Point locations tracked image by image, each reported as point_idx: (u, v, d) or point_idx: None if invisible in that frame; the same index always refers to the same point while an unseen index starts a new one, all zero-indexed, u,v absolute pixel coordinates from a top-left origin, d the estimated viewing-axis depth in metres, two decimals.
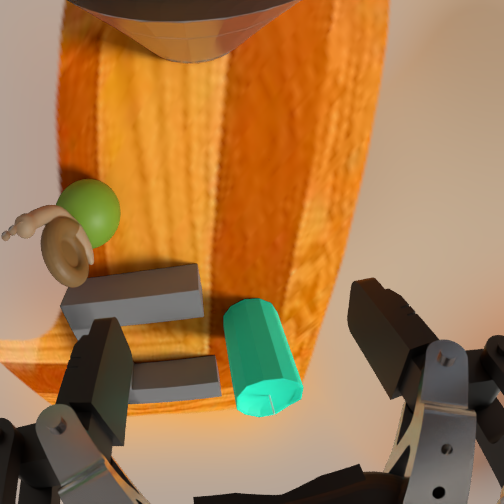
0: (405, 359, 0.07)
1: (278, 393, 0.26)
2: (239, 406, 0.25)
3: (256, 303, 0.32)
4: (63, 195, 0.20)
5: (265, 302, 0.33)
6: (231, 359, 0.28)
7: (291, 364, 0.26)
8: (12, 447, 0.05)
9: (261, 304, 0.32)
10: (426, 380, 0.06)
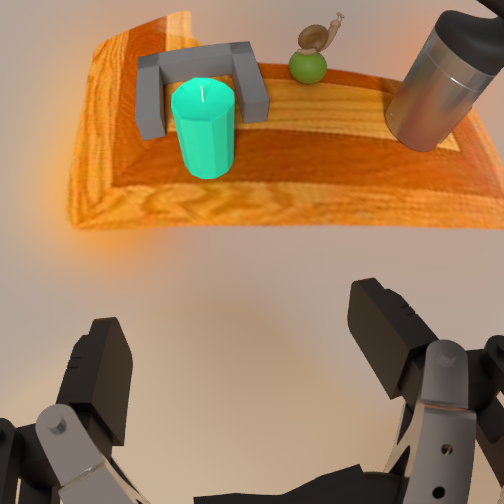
0: (405, 359, 0.07)
1: (203, 107, 0.27)
2: (199, 78, 0.27)
3: (233, 155, 0.36)
4: None
5: (230, 164, 0.36)
6: None
7: (226, 126, 0.28)
8: (12, 447, 0.05)
9: (233, 157, 0.35)
10: (426, 380, 0.06)
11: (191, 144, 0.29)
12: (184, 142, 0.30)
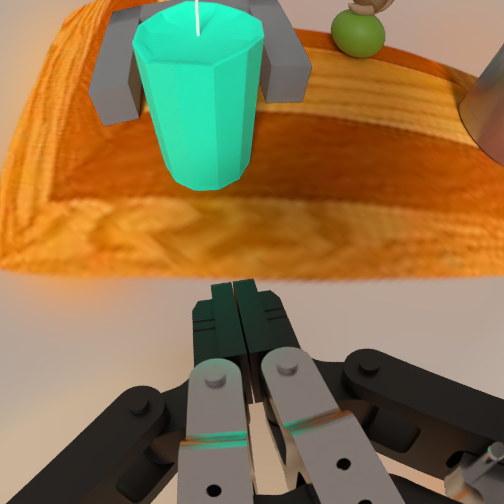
0: (250, 363, 0.08)
1: (198, 44, 0.11)
2: (194, 2, 0.12)
3: None
4: None
5: (245, 167, 0.21)
6: None
7: (245, 84, 0.13)
8: (162, 415, 0.06)
9: (250, 154, 0.20)
10: (278, 401, 0.06)
11: (171, 122, 0.14)
12: (158, 119, 0.14)
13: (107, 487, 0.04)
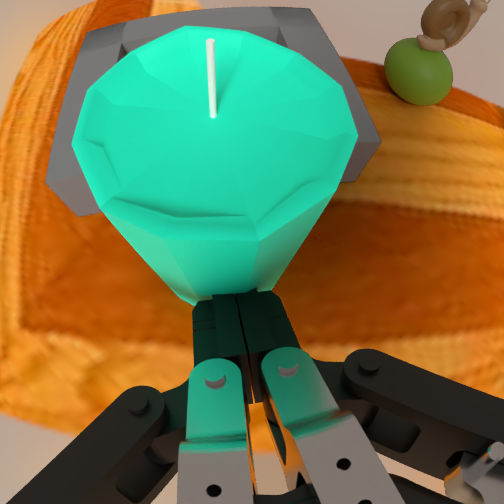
0: (250, 363, 0.08)
1: (214, 144, 0.06)
2: (201, 30, 0.06)
3: None
4: None
5: None
6: None
7: None
8: (162, 415, 0.06)
9: None
10: (278, 401, 0.06)
11: (169, 275, 0.09)
12: (147, 261, 0.09)
13: (107, 487, 0.04)
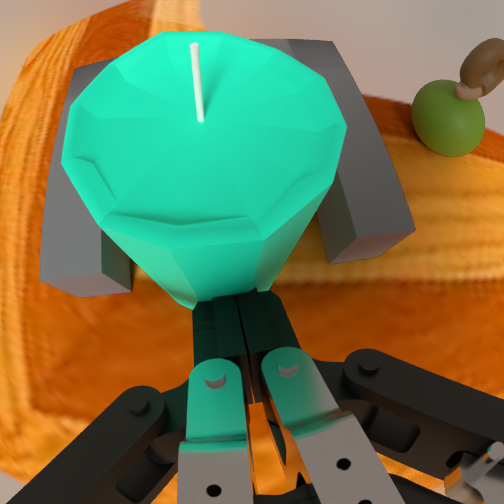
0: (250, 363, 0.08)
1: (205, 149, 0.06)
2: (178, 35, 0.06)
3: None
4: None
5: None
6: None
7: (306, 223, 0.07)
8: (162, 415, 0.06)
9: None
10: (277, 401, 0.06)
11: (171, 283, 0.09)
12: (147, 272, 0.09)
13: (107, 487, 0.04)
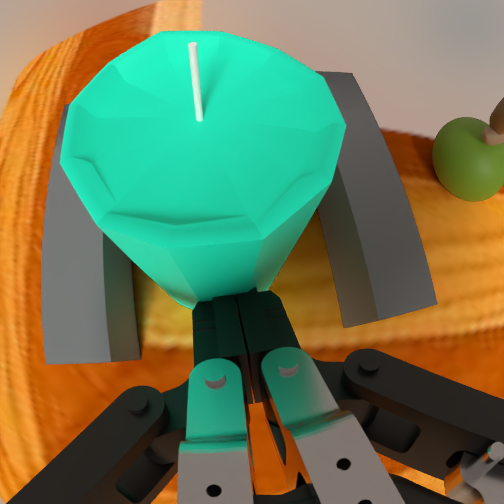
0: (250, 363, 0.08)
1: (204, 148, 0.06)
2: (177, 34, 0.06)
3: None
4: None
5: None
6: None
7: (305, 223, 0.07)
8: (162, 415, 0.06)
9: None
10: (278, 401, 0.06)
11: (170, 283, 0.09)
12: (146, 272, 0.09)
13: (107, 487, 0.04)
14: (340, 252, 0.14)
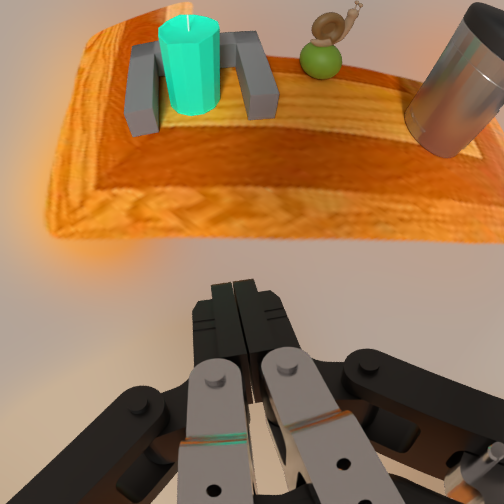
0: (250, 363, 0.08)
1: (189, 34, 0.24)
2: (183, 15, 0.25)
3: (219, 92, 0.33)
4: None
5: (217, 101, 0.34)
6: None
7: (213, 50, 0.26)
8: (162, 415, 0.06)
9: (219, 93, 0.33)
10: (278, 401, 0.06)
11: (178, 73, 0.27)
12: (171, 72, 0.27)
13: (107, 487, 0.04)
14: (244, 89, 0.33)
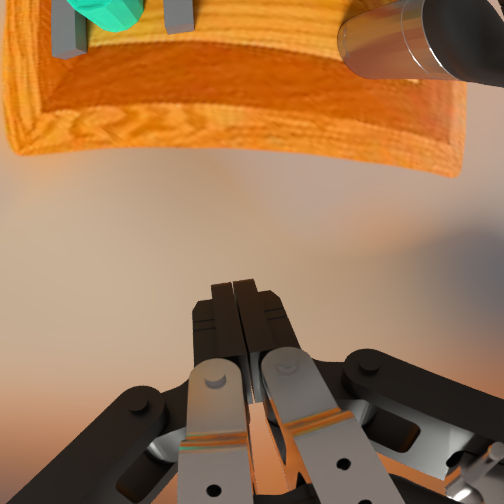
0: (250, 363, 0.08)
1: None
2: None
3: (142, 6, 0.26)
4: None
5: (140, 15, 0.27)
6: None
7: (122, 1, 0.20)
8: (162, 415, 0.06)
9: (142, 9, 0.26)
10: (278, 401, 0.06)
11: (93, 19, 0.21)
12: None
13: (107, 487, 0.04)
14: None
